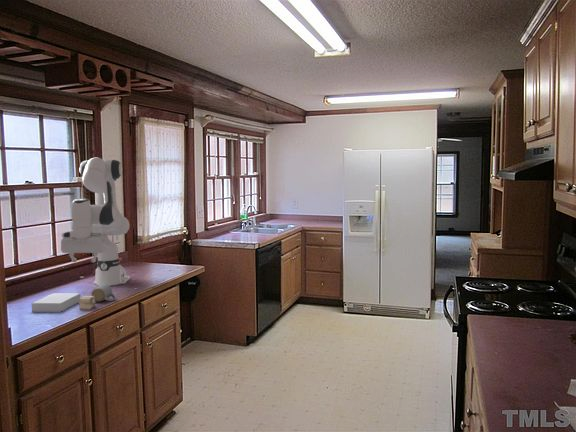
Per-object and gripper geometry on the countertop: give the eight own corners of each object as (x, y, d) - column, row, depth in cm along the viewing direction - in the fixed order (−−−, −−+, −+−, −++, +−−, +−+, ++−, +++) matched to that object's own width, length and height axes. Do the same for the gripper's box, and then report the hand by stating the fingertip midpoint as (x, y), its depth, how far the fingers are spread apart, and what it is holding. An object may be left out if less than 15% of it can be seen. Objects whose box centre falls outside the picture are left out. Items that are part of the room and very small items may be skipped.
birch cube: (84, 306, 229) (84, 296, 228) (94, 306, 228) (94, 296, 228) (79, 309, 224) (78, 298, 223) (89, 309, 224) (89, 298, 223)
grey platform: (53, 300, 239) (53, 293, 238) (80, 301, 238) (80, 293, 237) (32, 311, 221) (31, 303, 220) (61, 311, 220) (60, 303, 219)
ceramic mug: (90, 302, 235) (89, 287, 234) (98, 298, 243) (97, 283, 242) (111, 303, 234) (110, 287, 233) (118, 298, 242) (117, 283, 241)
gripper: (107, 232, 226) (108, 261, 227) (65, 232, 228) (67, 261, 229) (100, 233, 220) (102, 263, 221) (58, 234, 221) (59, 263, 222)
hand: (83, 262), depth 225 cm, fingers open, 8 cm apart
